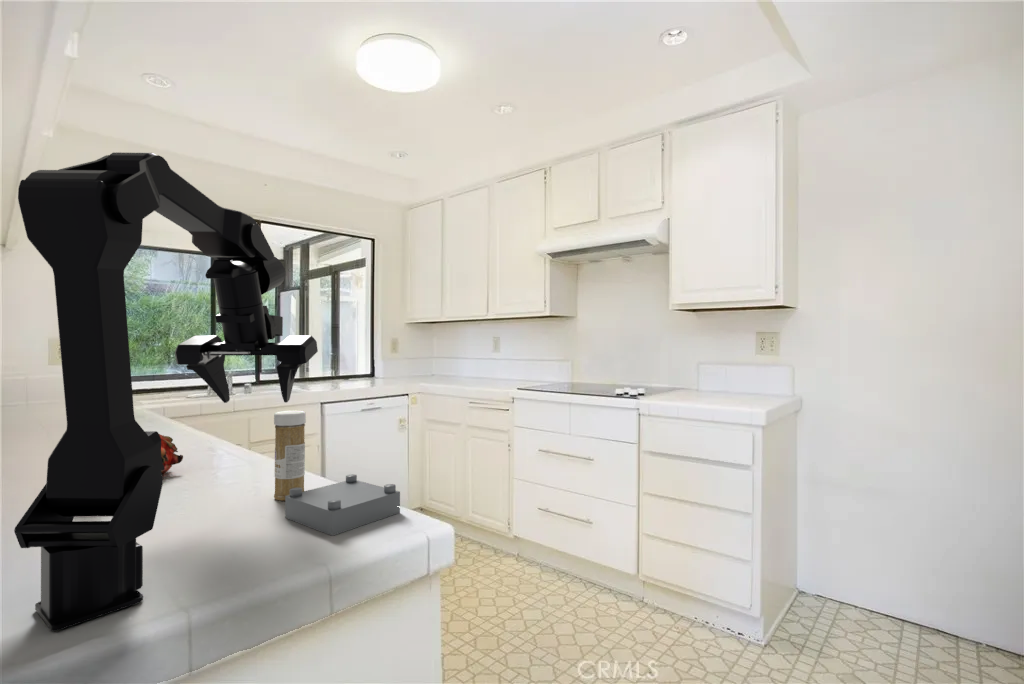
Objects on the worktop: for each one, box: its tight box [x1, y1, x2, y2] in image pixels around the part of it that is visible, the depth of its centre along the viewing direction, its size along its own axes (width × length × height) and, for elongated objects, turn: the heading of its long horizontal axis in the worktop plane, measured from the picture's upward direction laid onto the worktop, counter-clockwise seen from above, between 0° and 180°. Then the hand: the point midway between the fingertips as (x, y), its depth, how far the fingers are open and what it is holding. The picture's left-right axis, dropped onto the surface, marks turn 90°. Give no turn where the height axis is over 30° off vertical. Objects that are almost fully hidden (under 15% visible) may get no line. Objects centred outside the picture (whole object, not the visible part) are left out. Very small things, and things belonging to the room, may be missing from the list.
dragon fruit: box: [159, 433, 184, 475], centre depth 94 cm, size 8×8×12 cm
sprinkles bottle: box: [273, 409, 307, 502], centre depth 80 cm, size 5×5×14 cm
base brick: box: [284, 473, 401, 536], centre depth 72 cm, size 11×11×4 cm
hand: (257, 401), depth 80 cm, fingers open, 9 cm apart
